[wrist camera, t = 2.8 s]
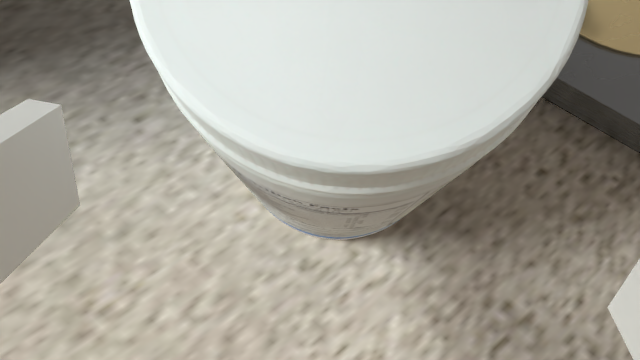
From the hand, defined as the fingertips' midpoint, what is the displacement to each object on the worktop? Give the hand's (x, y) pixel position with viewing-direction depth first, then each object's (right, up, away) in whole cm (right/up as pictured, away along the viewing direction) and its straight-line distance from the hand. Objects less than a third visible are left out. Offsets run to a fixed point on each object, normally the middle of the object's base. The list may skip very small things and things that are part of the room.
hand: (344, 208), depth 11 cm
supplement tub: (0, +2, +13) cm, 13 cm away
